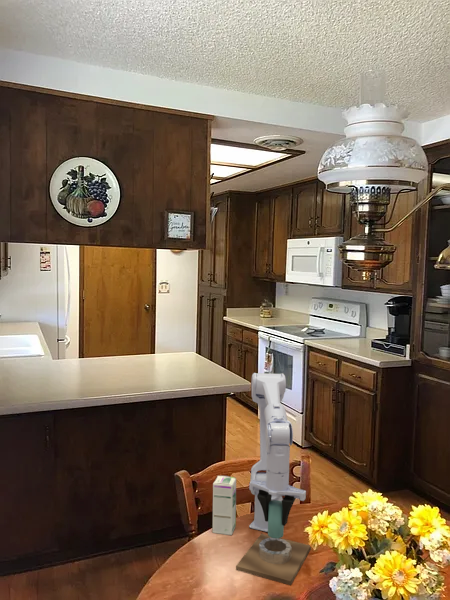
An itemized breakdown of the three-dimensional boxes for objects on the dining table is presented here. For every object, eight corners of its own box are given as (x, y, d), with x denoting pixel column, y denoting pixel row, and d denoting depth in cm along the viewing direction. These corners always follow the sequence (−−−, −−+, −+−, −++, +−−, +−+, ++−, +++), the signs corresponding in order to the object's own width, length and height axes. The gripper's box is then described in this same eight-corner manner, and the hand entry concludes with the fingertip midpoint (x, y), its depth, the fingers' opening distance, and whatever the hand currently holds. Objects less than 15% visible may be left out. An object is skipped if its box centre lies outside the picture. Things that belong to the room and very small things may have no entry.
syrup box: (232, 535, 143) (233, 484, 142) (211, 533, 144) (212, 482, 144) (235, 526, 149) (237, 476, 148) (215, 523, 150) (217, 474, 149)
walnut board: (261, 536, 143) (261, 533, 143) (310, 549, 137) (310, 545, 137) (235, 569, 126) (236, 565, 126) (290, 585, 121) (290, 581, 121)
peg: (271, 529, 134) (272, 499, 134) (285, 532, 132) (286, 502, 132) (265, 535, 130) (266, 505, 130) (280, 539, 129) (281, 508, 128)
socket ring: (265, 544, 137) (265, 535, 137) (294, 551, 134) (294, 542, 134) (254, 559, 130) (255, 549, 130) (285, 567, 126) (285, 557, 126)
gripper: (245, 469, 130) (243, 522, 131) (301, 480, 124) (299, 535, 125) (255, 460, 137) (253, 511, 137) (308, 470, 131) (306, 523, 131)
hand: (276, 521), depth 131 cm, fingers closed on peg, 4 cm apart
